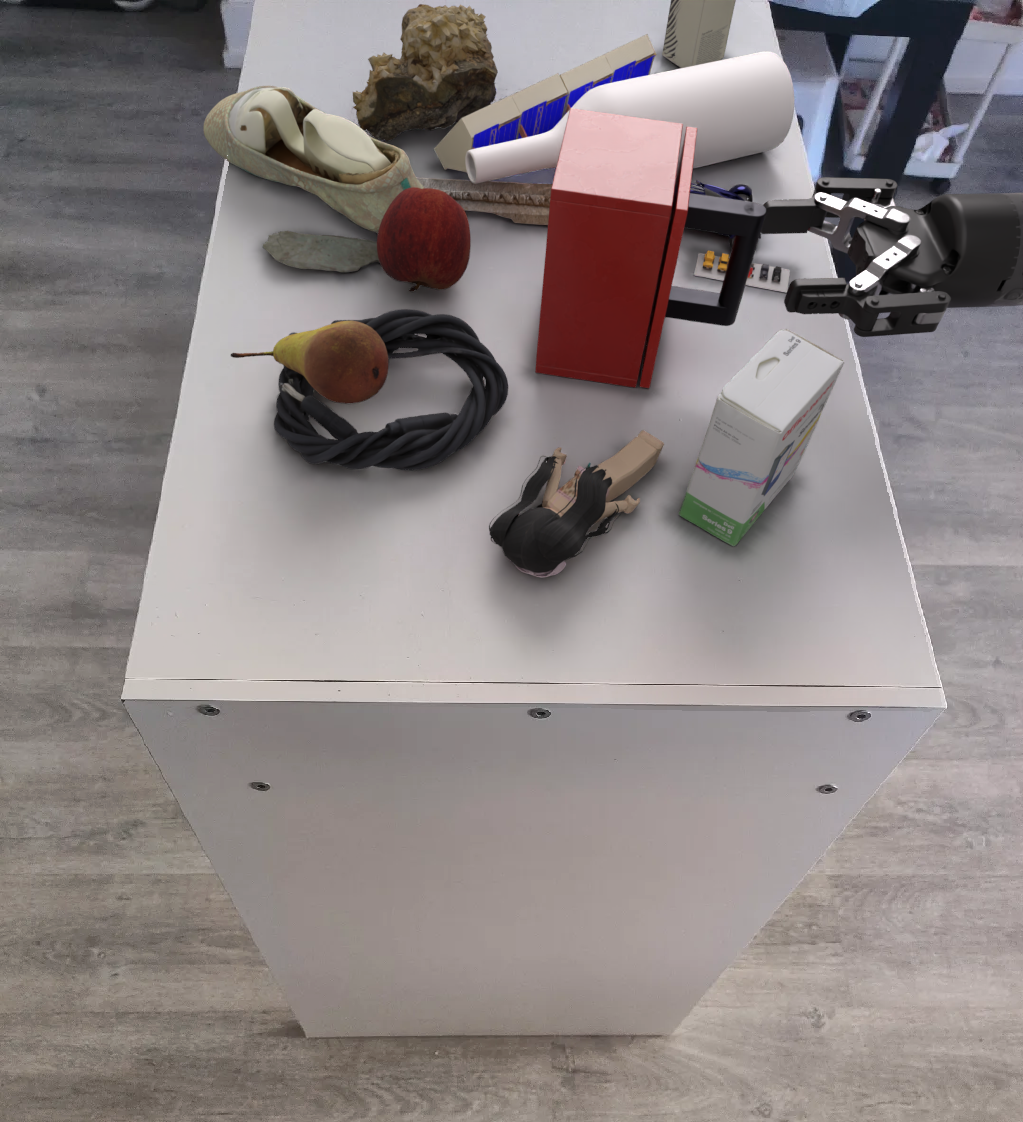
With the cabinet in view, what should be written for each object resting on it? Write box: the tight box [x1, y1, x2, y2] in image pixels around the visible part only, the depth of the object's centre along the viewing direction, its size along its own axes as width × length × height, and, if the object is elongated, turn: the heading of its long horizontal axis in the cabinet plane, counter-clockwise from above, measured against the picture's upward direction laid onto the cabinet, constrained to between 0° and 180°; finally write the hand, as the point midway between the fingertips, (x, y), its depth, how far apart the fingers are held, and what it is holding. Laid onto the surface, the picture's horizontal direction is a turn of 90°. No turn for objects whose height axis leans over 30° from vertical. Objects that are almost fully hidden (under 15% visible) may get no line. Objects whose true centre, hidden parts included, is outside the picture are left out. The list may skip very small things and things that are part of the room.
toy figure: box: [488, 429, 665, 578], centre depth 70 cm, size 7×6×15 cm
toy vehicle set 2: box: [693, 250, 791, 294], centre depth 87 cm, size 3×8×1 cm, turn 77°
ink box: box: [678, 328, 845, 547], centre depth 69 cm, size 9×5×12 cm, turn 143°
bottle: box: [465, 50, 795, 184], centre depth 90 cm, size 8×8×30 cm
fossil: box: [416, 177, 552, 226], centre depth 90 cm, size 18×3×4 cm
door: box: [639, 126, 766, 389], centre depth 75 cm, size 6×10×15 cm, turn 171°
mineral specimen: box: [352, 3, 499, 142], centre depth 93 cm, size 14×13×10 cm
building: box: [433, 33, 658, 173], centre depth 94 cm, size 23×6×4 cm
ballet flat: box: [202, 85, 424, 234], centre depth 87 cm, size 8×25×8 cm, turn 56°
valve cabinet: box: [534, 108, 683, 388], centre depth 76 cm, size 8×10×16 cm
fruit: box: [230, 321, 389, 405], centre depth 72 cm, size 6×6×12 cm
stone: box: [262, 230, 380, 273], centre depth 85 cm, size 11×2×5 cm
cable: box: [273, 308, 509, 472], centre depth 75 cm, size 17×14×4 cm
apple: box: [376, 187, 472, 293], centre depth 81 cm, size 7×8×8 cm
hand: (773, 255), depth 72 cm, fingers open, 8 cm apart
